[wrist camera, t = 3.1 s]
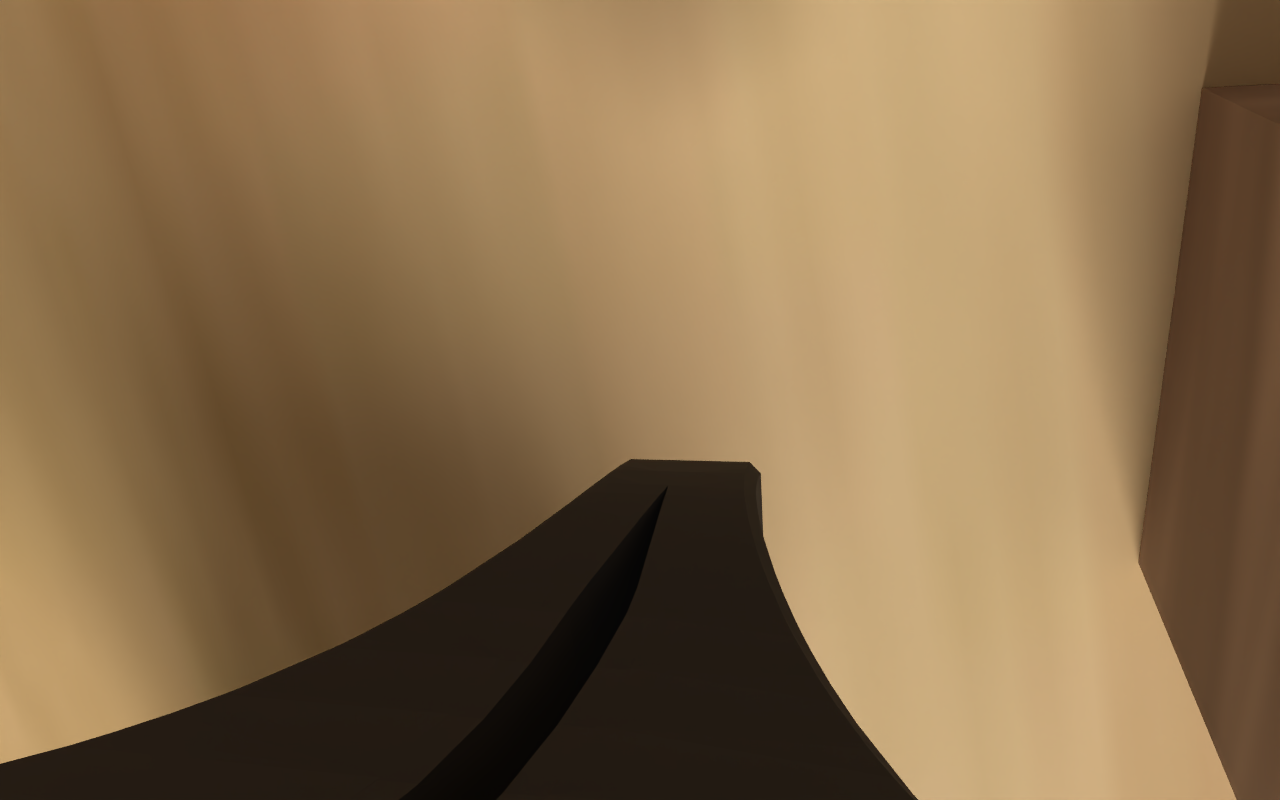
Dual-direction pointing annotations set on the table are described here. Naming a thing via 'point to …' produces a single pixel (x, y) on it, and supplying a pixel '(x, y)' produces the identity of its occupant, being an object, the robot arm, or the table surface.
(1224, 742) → the slab
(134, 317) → the table surface
